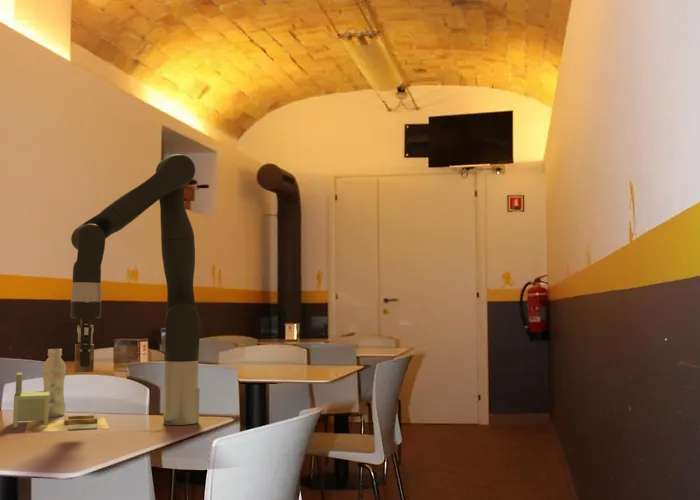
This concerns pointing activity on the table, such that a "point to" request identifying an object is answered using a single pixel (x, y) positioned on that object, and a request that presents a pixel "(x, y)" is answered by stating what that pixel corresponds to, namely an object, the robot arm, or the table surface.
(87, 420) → the puzzle board
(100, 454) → the table surface
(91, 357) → the walnut block
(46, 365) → the plastic bottle
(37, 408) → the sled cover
